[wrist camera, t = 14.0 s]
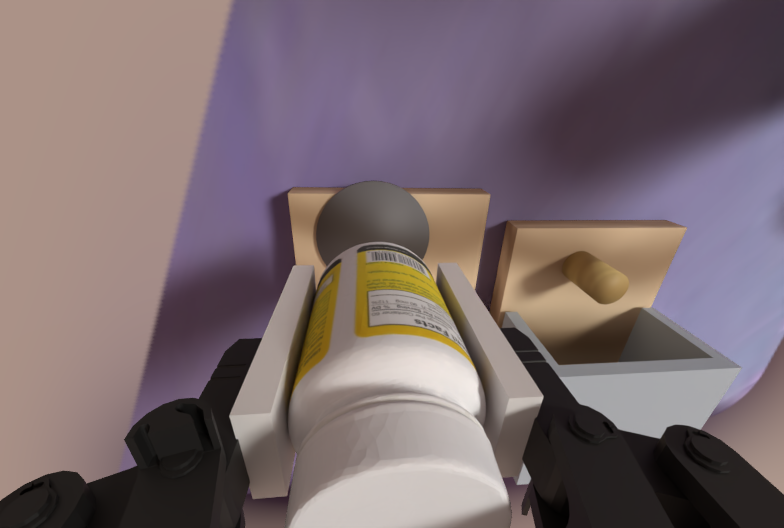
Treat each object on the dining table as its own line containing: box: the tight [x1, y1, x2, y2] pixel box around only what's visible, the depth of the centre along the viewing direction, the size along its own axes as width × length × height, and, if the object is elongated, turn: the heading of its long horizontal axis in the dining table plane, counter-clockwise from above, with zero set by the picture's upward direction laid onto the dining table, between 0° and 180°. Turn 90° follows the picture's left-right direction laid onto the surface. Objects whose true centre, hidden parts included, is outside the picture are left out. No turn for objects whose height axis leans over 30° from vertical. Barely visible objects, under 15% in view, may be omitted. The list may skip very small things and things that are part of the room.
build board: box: [288, 181, 490, 291], centre depth 21 cm, size 17×11×2 cm, turn 178°
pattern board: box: [489, 220, 687, 365], centre depth 22 cm, size 16×11×4 cm
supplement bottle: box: [285, 242, 512, 528], centre depth 9 cm, size 5×5×8 cm
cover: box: [502, 308, 742, 485], centre depth 21 cm, size 9×11×6 cm
